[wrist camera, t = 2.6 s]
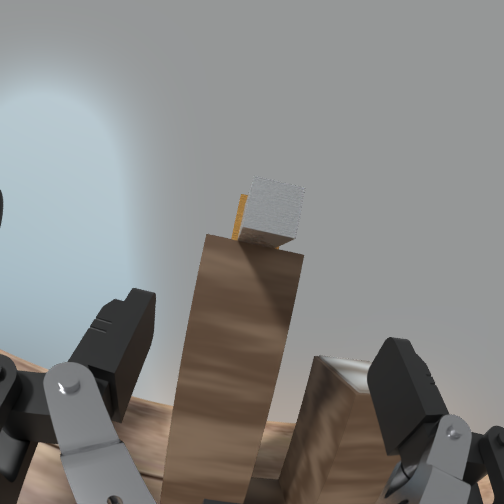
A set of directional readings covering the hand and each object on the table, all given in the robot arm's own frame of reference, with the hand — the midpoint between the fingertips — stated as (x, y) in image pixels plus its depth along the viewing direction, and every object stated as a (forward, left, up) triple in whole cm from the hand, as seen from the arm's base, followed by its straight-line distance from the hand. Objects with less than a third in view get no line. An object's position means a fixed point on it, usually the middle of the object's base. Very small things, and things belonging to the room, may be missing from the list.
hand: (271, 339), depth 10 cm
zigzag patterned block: (-10, +20, -28) cm, 36 cm away
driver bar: (-12, +11, +4) cm, 17 cm away
